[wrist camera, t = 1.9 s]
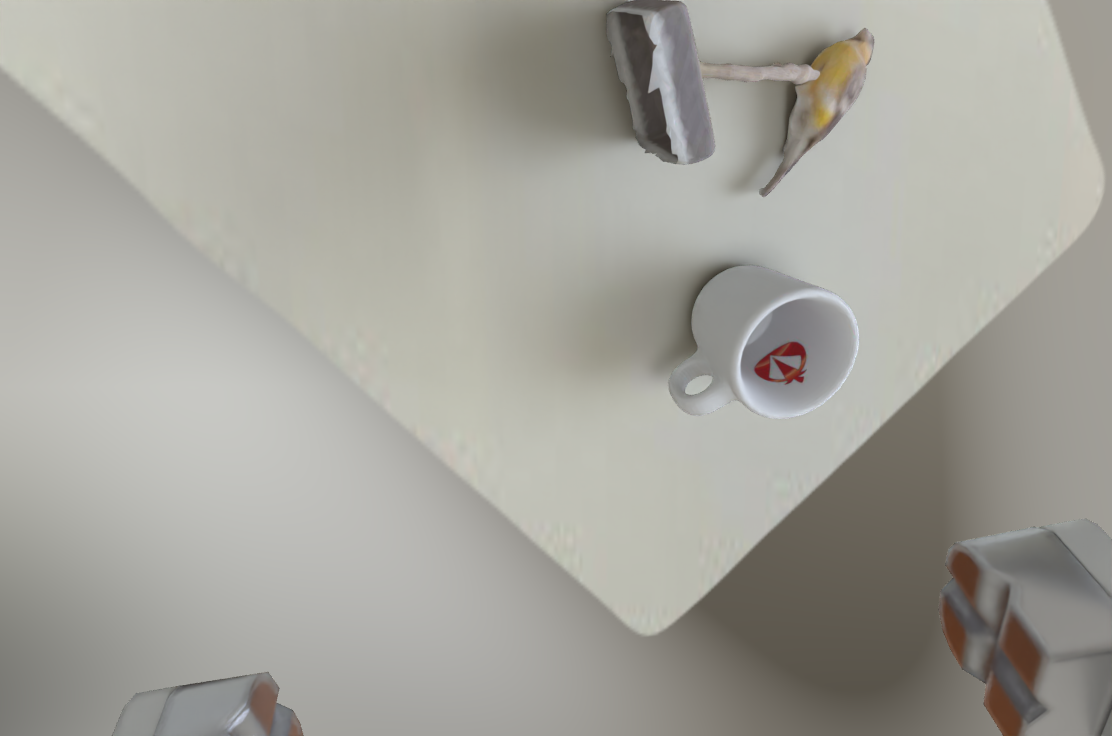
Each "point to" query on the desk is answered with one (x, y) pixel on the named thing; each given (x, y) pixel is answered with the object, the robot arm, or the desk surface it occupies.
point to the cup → (766, 344)
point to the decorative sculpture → (677, 78)
